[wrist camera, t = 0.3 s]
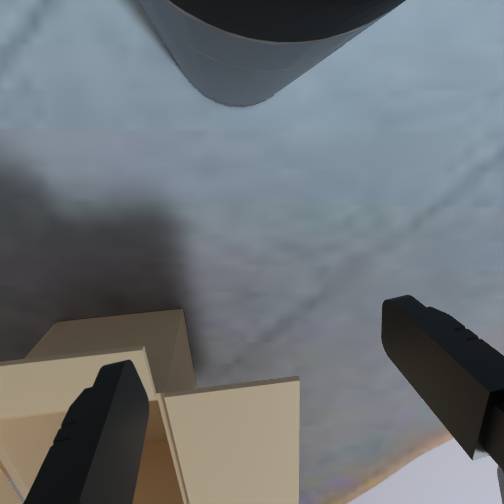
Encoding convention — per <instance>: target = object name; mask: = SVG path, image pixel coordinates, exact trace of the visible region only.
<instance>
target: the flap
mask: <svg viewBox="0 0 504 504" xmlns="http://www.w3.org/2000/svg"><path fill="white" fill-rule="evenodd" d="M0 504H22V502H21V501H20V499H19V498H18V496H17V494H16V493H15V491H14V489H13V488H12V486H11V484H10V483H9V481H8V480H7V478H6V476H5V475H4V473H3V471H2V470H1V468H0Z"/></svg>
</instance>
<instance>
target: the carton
mask: <svg viewBox="0 0 504 504" xmlns="http://www.w3.org/2000/svg"><path fill="white" fill-rule="evenodd" d="M124 360H131V361H132V362H133V364H134V366H135V368H136V370H137V373H138V375H139V377H140V379H141V382H142V384H143V386H144V388H145V391H146V393H147V396H148V400H149V418H148V424H147V429H146V434H145V440H144V445H143V450H142V456H141V461H140V466H139V472H138V477H137V482H136V488H135V493H134V498H133V504H299V401H300V380H299V377H298V376H294V377H286V378H278V379H270V380H262V381H254V382H246V383H238V384H229V385H221V386H213V387H205V388H197V385H196V379H195V373H194V368H193V362H192V356H191V351H190V345H189V339H188V334H187V328H186V322H185V317H184V311H183V309H175V310H165V311H155V312H146V313H136V314H127V315H117V316H107V317H98V318H88V319H79V320H69V321H60V322H55V324H54V325H53V326H52V327H51V328H50V329H49V330H48V332H47V333H46V334H45V335H44V336H43V337H42V338H41V340H40V341H39V342H38V343H37V344H36V345H35V347H34V348H33V349H32V350H31V351H30V352H29V353H28V355H27V356H26V357H25V358H24V359H20V360H11V361H2V362H0V460H1V462H2V463H3V465H4V467H5V468H6V470H7V472H8V473H9V475H10V477H11V478H12V480H13V482H14V483H15V485H16V486H17V488H18V490H19V491H20V493H21V495H22V496H23V498H24V500H25V499H26V497H27V495H28V493H29V491H30V489H31V486H32V484H33V482H34V480H35V478H36V476H37V474H38V472H39V470H40V468H41V466H42V463H43V461H44V459H45V457H46V455H47V453H48V451H49V449H50V447H51V446H53V440H54V438H55V436H56V434H57V432H58V430H59V429H61V424H62V422H63V420H64V417H65V415H66V413H67V411H68V409H69V407H70V405H71V404H72V403H73V402H74V401H75V400H76V398H77V397H78V396H79V395H80V394H81V393H82V391H83V390H84V389H85V388H89V387H92V386H93V384H94V382H95V379H96V377H97V375H98V372H99V370H100V368H101V367H102V366H104V365H107V364H111V363H116V362H120V361H124Z"/></svg>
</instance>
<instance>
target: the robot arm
mask: <svg viewBox="0 0 504 504" xmlns="http://www.w3.org/2000/svg"><path fill="white" fill-rule="evenodd" d="M404 1H406V0H139V2H140V3H141V5H142V7H143V8H144V10H145V11H146V13H147V15H148V16H149V18H150V20H151V21H152V23H153V24H154V26H155V28H156V29H157V31H158V33H159V34H160V36H161V38H162V39H163V41H164V42H165V44H166V46H167V47H168V49H169V51H170V52H171V54H172V55H173V57H174V59H175V61H176V62H177V64H178V66H179V67H180V69H181V70H182V72H183V74H184V75H185V76H186V78H187V79H188V80H189V82H190V83H191V84H192V85H193V87H195V88H196V89H197V90H198V91H199V92H200V93H201V94H203V95H204V96H205V97H207V98H209V99H210V100H212V101H214V102H216V103H219V104H222V105H225V106H229V107H246V106H252V105H255V104H258V103H260V102H263V101H265V100H267V99H269V98H271V97H272V96H274V94H275V93H277V92H278V91H280V90H281V89H283V88H284V87H286V86H287V85H288V84H290V83H291V82H293V81H294V80H295V79H297V78H298V77H300V76H301V75H302V74H304V73H305V72H307V71H308V70H309V69H311V68H312V67H314V66H315V65H317V64H318V63H319V62H321V61H322V60H324V59H325V58H326V57H328V56H329V55H331V54H332V53H333V52H335V51H336V50H338V49H339V48H340V47H342V46H343V45H344V44H346V43H347V42H348V41H350V40H351V39H353V38H354V37H355V36H357V35H358V34H360V33H361V32H362V31H364V30H365V29H367V28H368V27H369V26H371V25H372V24H374V23H375V22H376V21H378V20H379V19H381V18H382V17H383V16H385V15H386V14H388V13H389V12H390V11H392V10H393V9H395V8H396V7H397V6H398V5H400V4H401V3H403V2H404ZM381 339H382V344H383V347H384V350H385V352H386V354H387V355H388V357H389V358H390V359H391V361H392V362H393V363H394V364H395V365H396V367H397V368H398V369H399V370H400V372H401V373H402V374H403V375H404V377H405V378H406V379H407V380H408V382H409V383H410V384H411V385H412V386H413V388H414V389H415V390H416V391H417V393H418V394H419V395H420V396H421V398H422V399H423V400H424V401H425V402H426V404H427V405H428V406H429V407H430V409H431V410H432V411H433V412H434V414H435V415H436V416H437V417H438V418H439V420H440V421H441V422H442V423H443V425H444V426H445V427H446V428H447V430H448V431H449V432H450V433H451V434H452V436H453V437H454V438H455V439H456V441H457V442H458V443H459V444H460V446H461V447H462V448H463V449H464V450H465V452H466V453H467V454H468V455H469V457H470V458H471V459H472V460H475V459H479V458H482V457H486V456H489V455H490V456H491V457H492V458H493V460H494V461H495V462H496V463H497V464H498V469H497V474H498V480H499V486H500V492H501V497H502V503H503V504H504V356H503V355H502V354H501V353H499V352H498V351H497V350H495V349H494V348H493V347H491V346H490V345H489V344H487V343H486V342H485V341H483V340H482V339H479V338H478V336H477V335H475V334H474V333H473V332H472V331H470V330H469V329H466V328H465V326H464V325H462V324H461V323H460V322H458V321H457V320H456V319H454V318H453V317H452V316H450V315H449V314H446V313H444V312H442V311H439V310H437V309H435V308H433V307H427V308H426V307H425V306H424V305H423V304H421V303H420V302H419V301H418V300H416V299H415V298H414V297H412V296H410V295H405V296H400V297H396V298H392V299H388V300H385V301H384V302H383V305H382V333H381ZM148 418H149V400H148V396H147V393H146V391H145V388H144V386H143V384H142V382H141V379H140V377H139V375H138V373H137V370H136V368H135V366H134V364H133V362H132V361H131V360H124V361H120V362H116V363H111V364H107V365H104V366H102V367H101V368H100V370H99V372H98V375H97V377H96V379H95V382H94V384H93V386H92V387H89V388H85V389H84V390H83V391H82V393H81V394H80V395H79V396H78V397H77V398H76V400H75V401H74V402H73V403H72V404H71V405H70V407H69V409H68V411H67V413H66V415H65V417H64V420H63V422H62V424H61V429H59V430H58V432H57V434H56V436H55V438H54V440H53V446H51V447H50V449H49V451H48V453H47V455H46V457H45V459H44V461H43V463H42V466H41V468H40V470H39V472H38V474H37V476H36V478H35V480H34V482H33V484H32V486H31V489H30V491H29V493H28V495H27V497H26V499H25V501H24V503H23V504H133V498H134V493H135V488H136V482H137V477H138V472H139V466H140V461H141V456H142V450H143V445H144V440H145V434H146V429H147V424H148Z"/></svg>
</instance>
